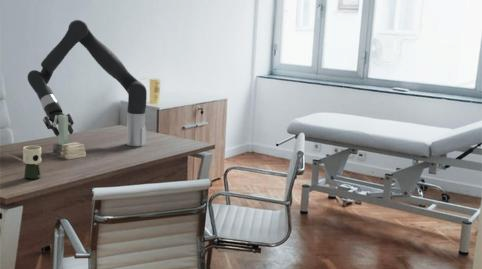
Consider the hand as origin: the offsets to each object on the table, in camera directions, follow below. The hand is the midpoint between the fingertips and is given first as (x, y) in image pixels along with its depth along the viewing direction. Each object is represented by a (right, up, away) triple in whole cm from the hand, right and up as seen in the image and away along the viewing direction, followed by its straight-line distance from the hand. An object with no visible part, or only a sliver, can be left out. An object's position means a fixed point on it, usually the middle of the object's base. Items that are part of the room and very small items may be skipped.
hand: (65, 134), depth 278 cm
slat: (-2, -9, +3) cm, 10 cm away
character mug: (-3, -18, -35) cm, 40 cm away
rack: (0, -10, +1) cm, 11 cm away
